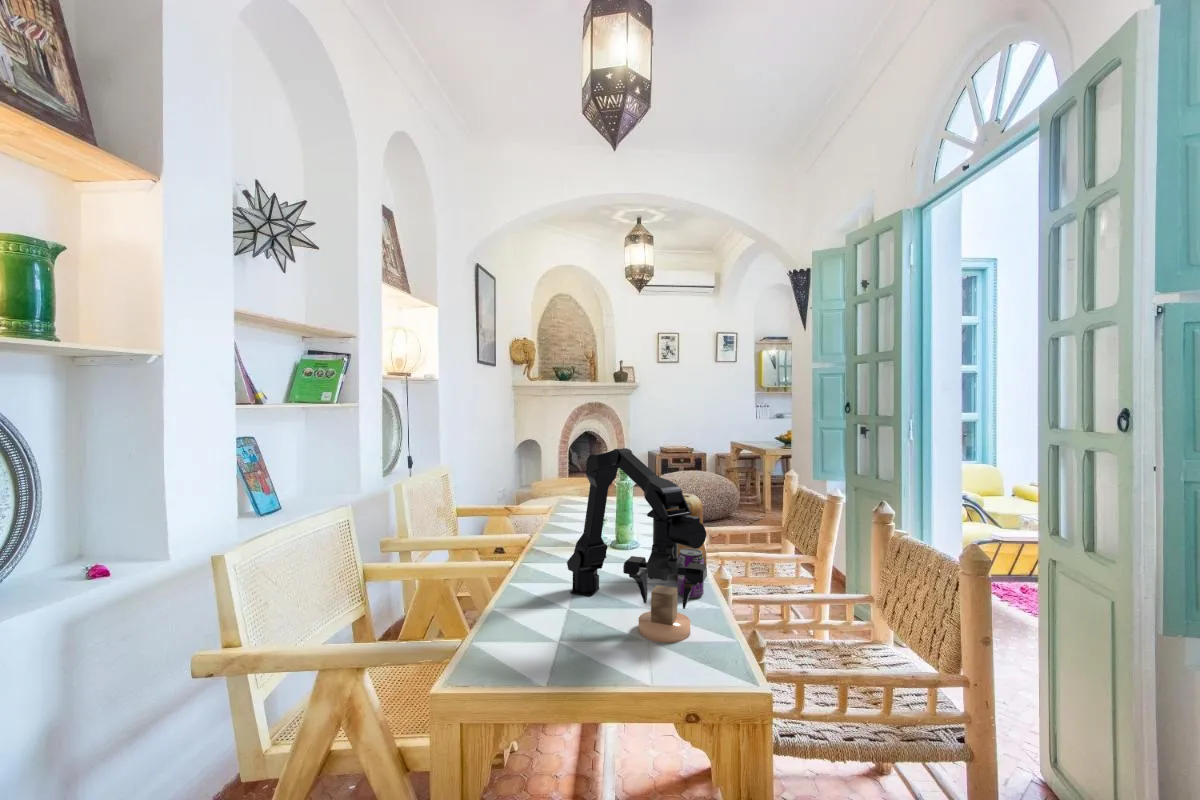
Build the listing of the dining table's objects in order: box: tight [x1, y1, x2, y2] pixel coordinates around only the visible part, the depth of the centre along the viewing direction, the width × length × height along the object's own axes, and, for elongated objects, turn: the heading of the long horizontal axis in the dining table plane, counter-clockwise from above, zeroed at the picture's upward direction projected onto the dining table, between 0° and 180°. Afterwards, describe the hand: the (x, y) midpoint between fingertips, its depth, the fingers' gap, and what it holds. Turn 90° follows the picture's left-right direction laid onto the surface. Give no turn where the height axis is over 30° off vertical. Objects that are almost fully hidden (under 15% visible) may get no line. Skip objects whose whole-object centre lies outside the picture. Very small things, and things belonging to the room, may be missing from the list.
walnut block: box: [650, 585, 678, 625], centre depth 134 cm, size 5×5×7 cm
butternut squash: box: [666, 492, 708, 579], centre depth 173 cm, size 14×13×25 cm
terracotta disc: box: [638, 610, 691, 644], centre depth 134 cm, size 12×12×3 cm
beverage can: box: [676, 549, 705, 599], centre depth 158 cm, size 7×7×12 cm
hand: (664, 605), depth 134 cm, fingers open, 9 cm apart
